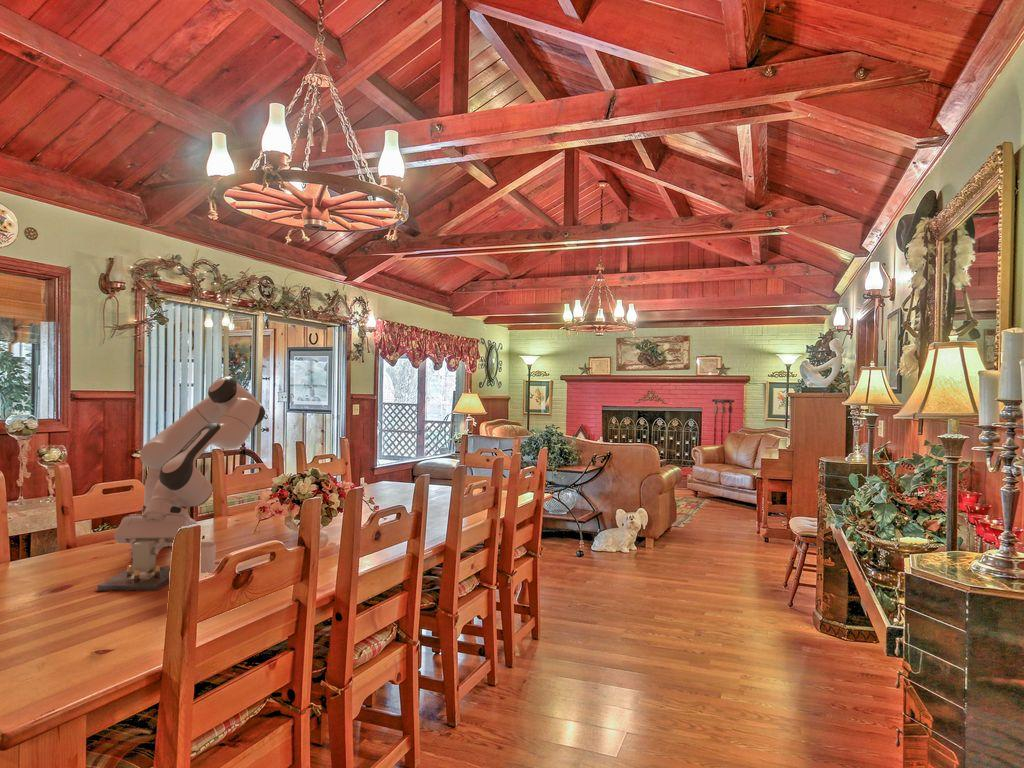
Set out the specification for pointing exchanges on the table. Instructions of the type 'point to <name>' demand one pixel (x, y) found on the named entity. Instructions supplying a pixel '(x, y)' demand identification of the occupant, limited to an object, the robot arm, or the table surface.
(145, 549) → the block
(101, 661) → the table surface
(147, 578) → the chassis
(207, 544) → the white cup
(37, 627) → the table surface
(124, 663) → the table surface
